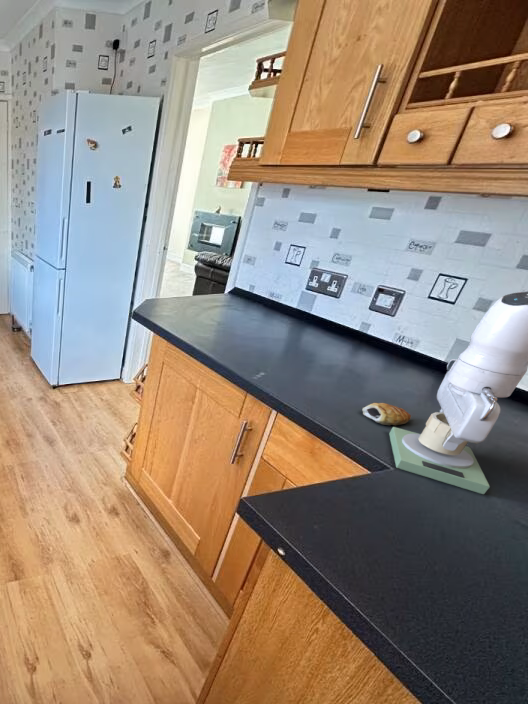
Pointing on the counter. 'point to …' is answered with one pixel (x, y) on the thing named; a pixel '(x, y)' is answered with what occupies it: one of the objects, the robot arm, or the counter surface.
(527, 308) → the robot arm
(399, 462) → the scale
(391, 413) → the pastry
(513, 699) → the counter surface
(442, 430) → the cream hollow cylinder
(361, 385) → the counter surface
